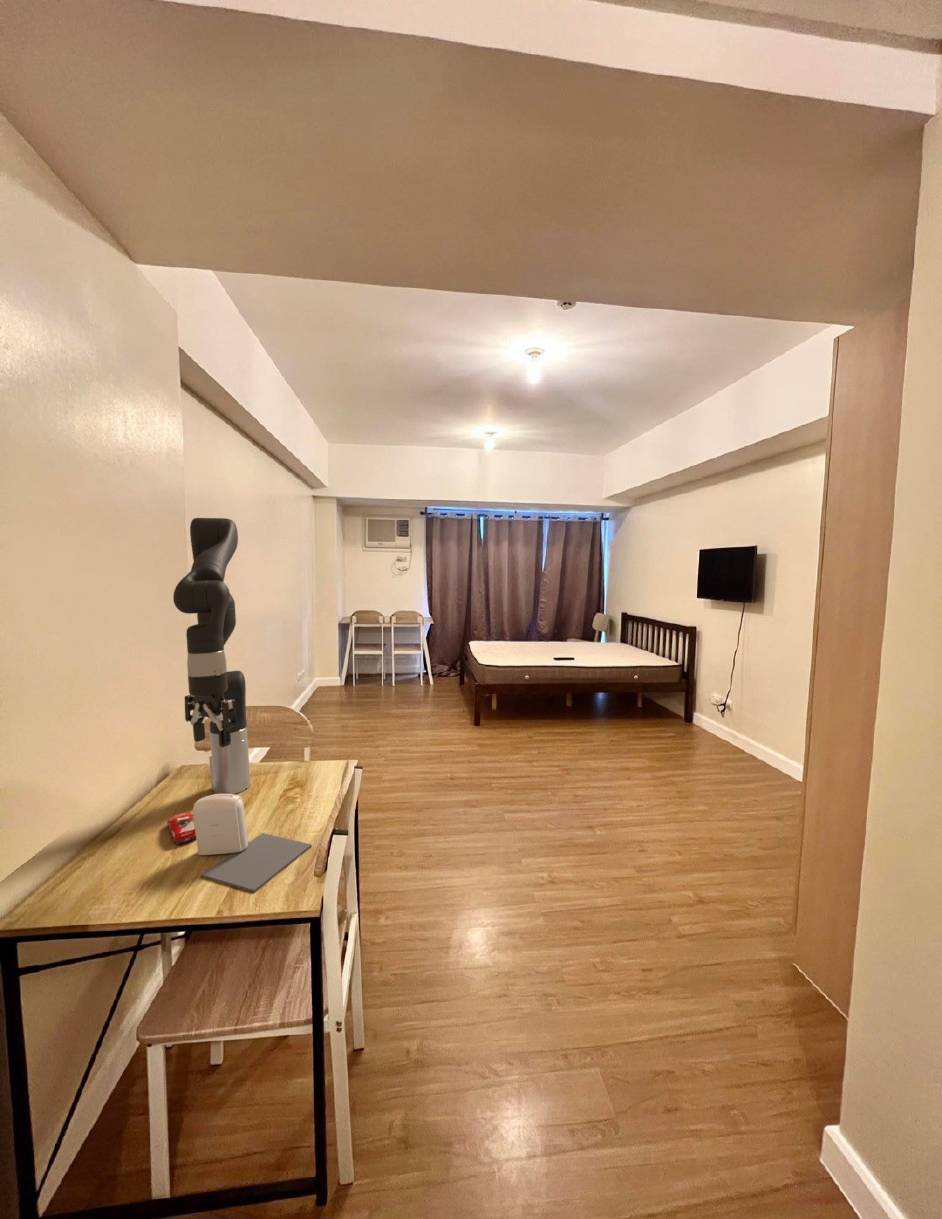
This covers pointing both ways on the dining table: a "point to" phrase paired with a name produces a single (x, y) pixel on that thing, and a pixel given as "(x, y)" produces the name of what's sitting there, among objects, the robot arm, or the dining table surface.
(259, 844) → the gray mat
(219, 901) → the dining table surface
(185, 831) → the race car
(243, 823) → the photo printer
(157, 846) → the dining table surface
